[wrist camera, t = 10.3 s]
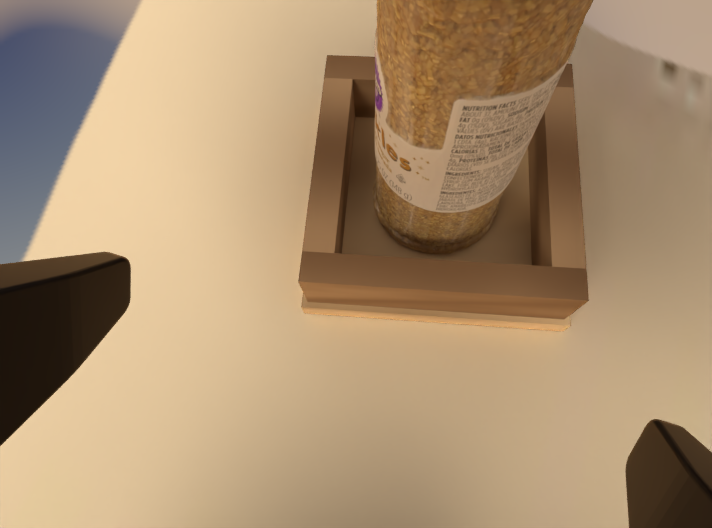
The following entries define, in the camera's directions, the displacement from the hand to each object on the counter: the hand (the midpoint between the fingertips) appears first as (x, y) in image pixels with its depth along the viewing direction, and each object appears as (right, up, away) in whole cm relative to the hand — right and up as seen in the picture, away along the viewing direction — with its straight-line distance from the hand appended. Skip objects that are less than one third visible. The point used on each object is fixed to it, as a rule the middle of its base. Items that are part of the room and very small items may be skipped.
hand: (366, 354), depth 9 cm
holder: (+3, +4, +11) cm, 12 cm away
